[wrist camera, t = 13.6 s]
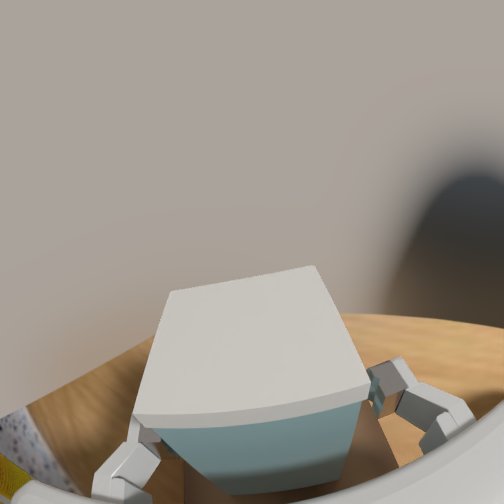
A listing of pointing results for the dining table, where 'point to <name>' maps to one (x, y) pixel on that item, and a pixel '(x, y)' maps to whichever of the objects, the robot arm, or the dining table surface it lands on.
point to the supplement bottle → (11, 479)
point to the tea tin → (255, 382)
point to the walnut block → (354, 472)
